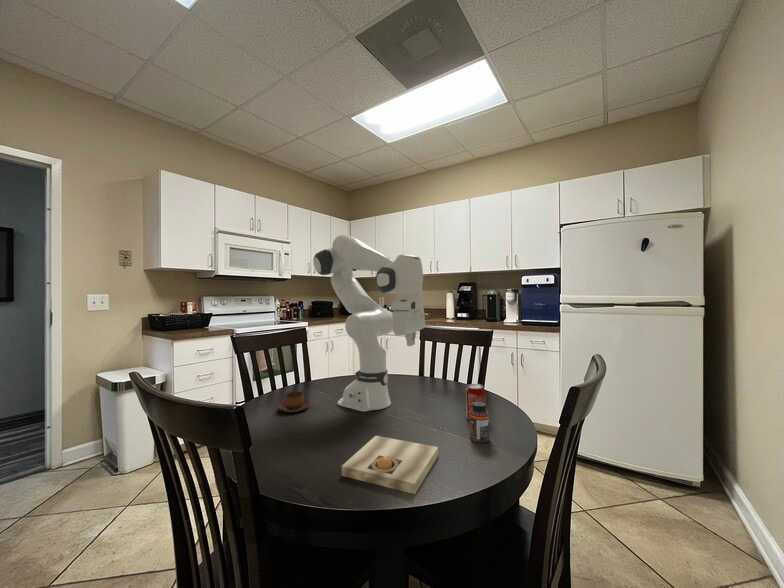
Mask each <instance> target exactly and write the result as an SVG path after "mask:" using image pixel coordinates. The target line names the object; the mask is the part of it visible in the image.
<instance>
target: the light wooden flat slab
mask: <svg viewBox="0 0 784 588" xmlns="http://www.w3.org/2000/svg"><path fill="white" fill-rule="evenodd" d="M381 457H388V458H389V459H390V460H391V462H392V468H391V469H387V470H382V469H378V468H377V462H378V460H379V459H380V458H381ZM437 458H439V447H438V446H434V445H429V444H423V443H418V442H412V441H407V440H403V439H402V440H401V439H397V438H391V437H385V436H382V435H381V436H380V435H375V436H374V437H372V438H371V439H370V440H368V441H367V443H365V444H364V445H363V446H362V447H361V448H360V449H359V450H357V451H356V452H355V453H354V454H353V455H352V456H351V457H350V458H349V459H347V461H345V463H343V464H342V465H341V477H346V478H350V479H353V480H357V481H362V482H365V483H369V484H373V485H376V486H382V487H385V488H389V489H392V490H396V491H400V492H404V493H407V492H408V493H407V494H411V493H413V494H412V495H416V493H417V492H418V490H419V489H420V486H421V485H422V483H423V481H425V479H426V477H427V475H428V474H429V472H430V470H431V469H432V467H433V466H434V464H435V462H436V461H437Z"/></svg>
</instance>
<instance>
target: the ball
mask: <svg viewBox="0 0 784 588" xmlns="http://www.w3.org/2000/svg"><path fill="white" fill-rule="evenodd" d="M377 468H378V469H382V470H387V469H391V468H392V462H391V460H390V459H389V458H388V457H381V458H380V459H379V460H378V462H377Z"/></svg>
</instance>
